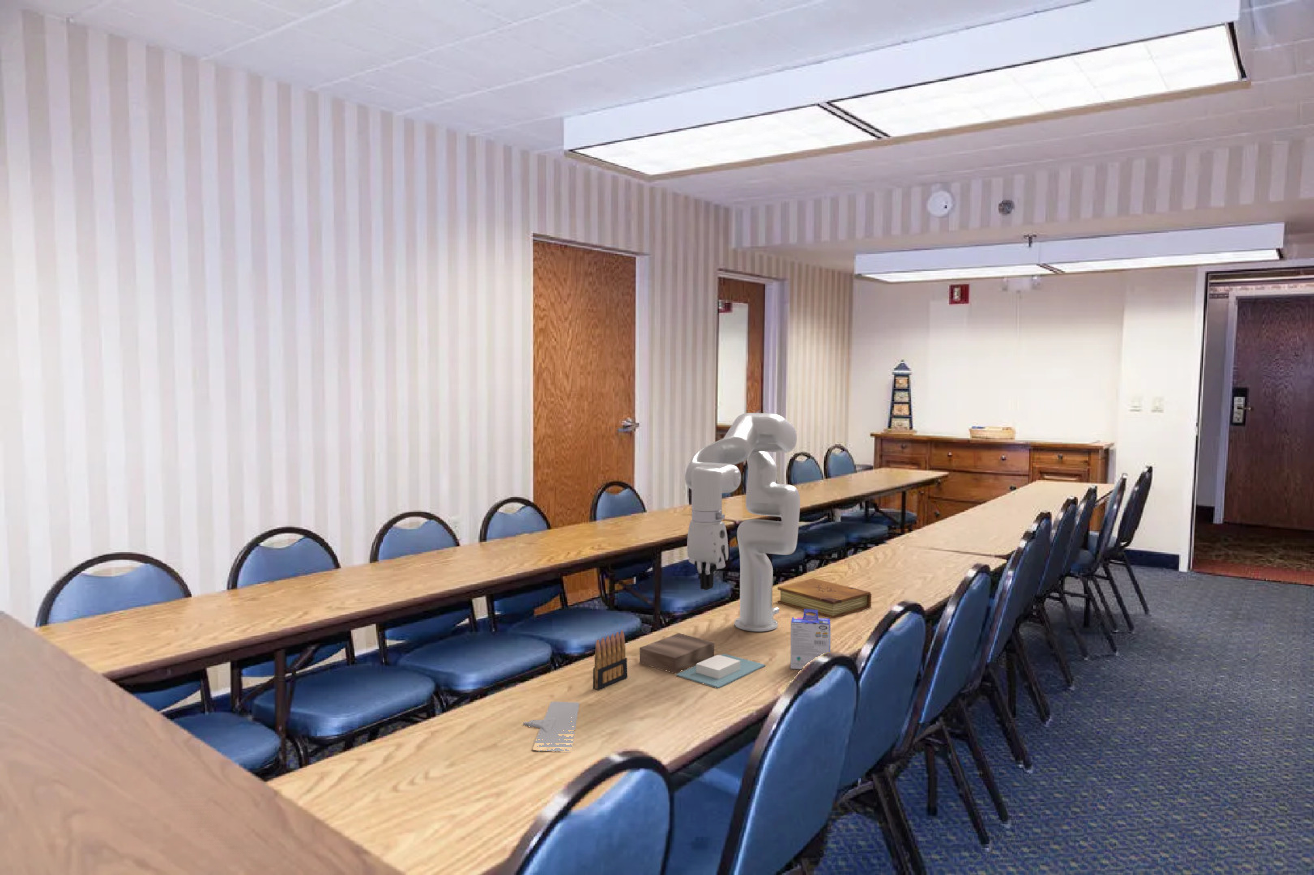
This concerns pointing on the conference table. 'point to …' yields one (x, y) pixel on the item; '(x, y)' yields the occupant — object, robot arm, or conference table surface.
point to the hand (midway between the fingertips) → (706, 588)
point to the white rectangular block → (718, 666)
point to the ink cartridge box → (809, 638)
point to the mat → (745, 669)
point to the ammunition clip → (610, 662)
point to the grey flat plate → (556, 724)
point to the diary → (824, 597)
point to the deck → (676, 652)
